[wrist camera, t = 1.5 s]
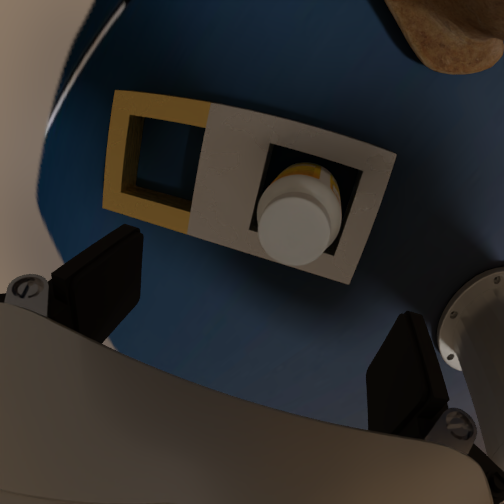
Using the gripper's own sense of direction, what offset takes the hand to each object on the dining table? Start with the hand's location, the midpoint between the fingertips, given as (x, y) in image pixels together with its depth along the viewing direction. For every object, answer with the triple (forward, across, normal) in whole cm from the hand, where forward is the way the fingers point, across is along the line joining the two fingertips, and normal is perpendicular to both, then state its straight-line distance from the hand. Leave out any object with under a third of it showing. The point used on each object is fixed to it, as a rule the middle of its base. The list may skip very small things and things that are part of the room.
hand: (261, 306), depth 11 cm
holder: (+17, +6, 0) cm, 18 cm away
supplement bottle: (+17, 0, 0) cm, 17 cm away
